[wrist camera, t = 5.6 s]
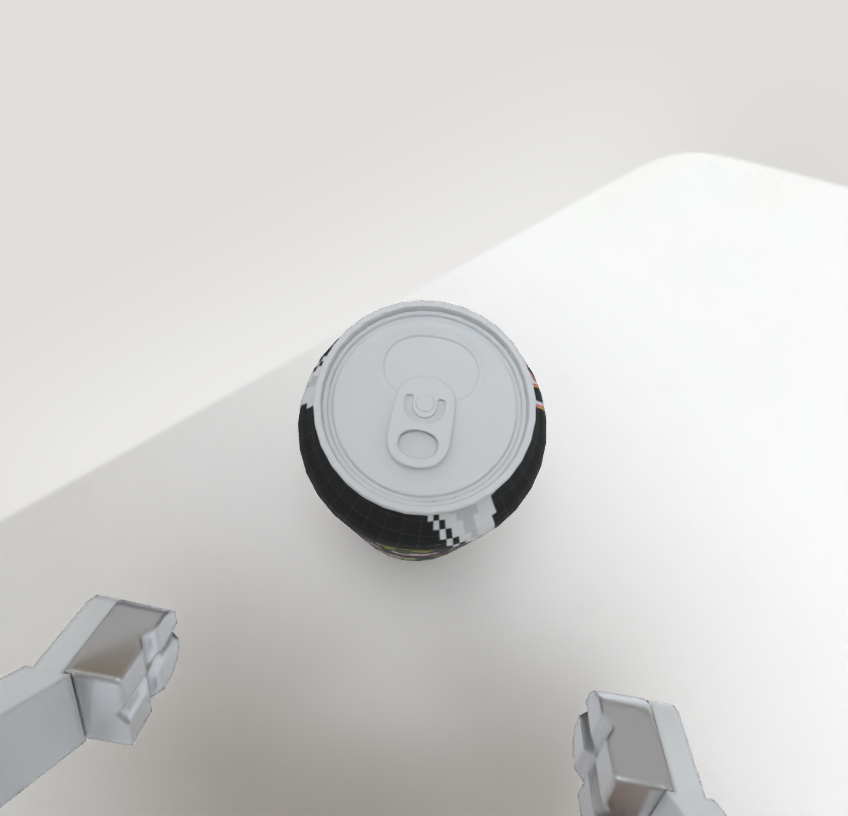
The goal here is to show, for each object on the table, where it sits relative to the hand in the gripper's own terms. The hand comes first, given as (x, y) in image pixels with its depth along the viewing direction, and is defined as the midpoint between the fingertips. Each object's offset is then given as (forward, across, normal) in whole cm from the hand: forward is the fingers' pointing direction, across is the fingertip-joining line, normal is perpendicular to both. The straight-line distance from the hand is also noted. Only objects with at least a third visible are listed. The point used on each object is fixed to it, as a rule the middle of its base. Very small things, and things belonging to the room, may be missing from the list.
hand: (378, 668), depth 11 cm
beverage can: (+11, 0, +4) cm, 12 cm away
